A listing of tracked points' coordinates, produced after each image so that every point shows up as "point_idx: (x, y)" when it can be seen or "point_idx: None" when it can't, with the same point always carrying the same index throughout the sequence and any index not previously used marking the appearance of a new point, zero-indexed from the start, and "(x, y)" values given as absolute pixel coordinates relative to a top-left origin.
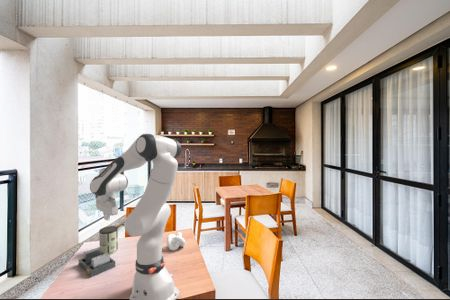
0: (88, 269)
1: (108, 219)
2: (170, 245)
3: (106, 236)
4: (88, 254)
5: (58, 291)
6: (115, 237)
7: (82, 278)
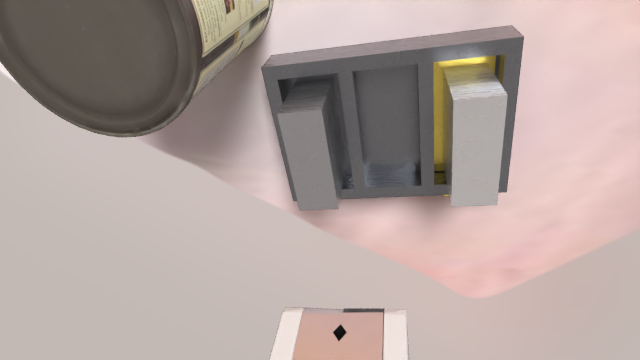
0: None
1: (407, 335)
2: None
3: (209, 70)
4: (336, 188)
5: (486, 279)
6: None
7: None
